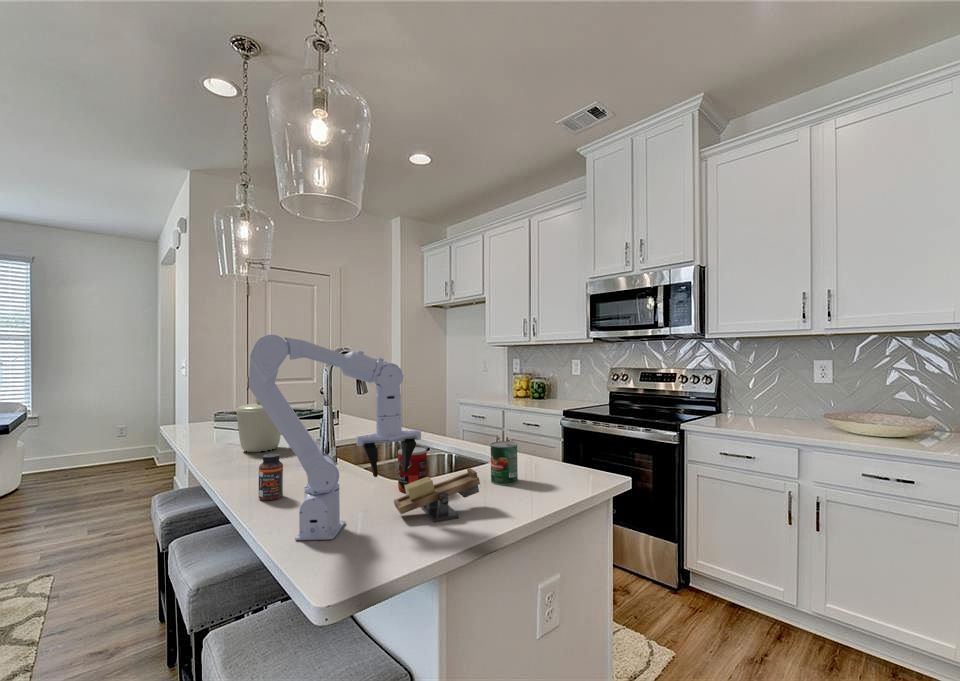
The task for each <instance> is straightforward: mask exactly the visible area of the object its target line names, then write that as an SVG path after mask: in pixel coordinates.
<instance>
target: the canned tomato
mask: <svg viewBox="0 0 960 681" xmlns="http://www.w3.org/2000/svg"><path fill="white" fill-rule="evenodd" d="M518 472H519V471H518V443H517V442H515V441H508V440H505V441H504V440H502V441H494V442H491V443H490V483H492V484H493V485H498V486H511V485H512V486H513V485H515V484H517V483H518V482H519V480H518V478H519V476H518Z"/></svg>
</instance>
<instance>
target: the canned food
mask: <svg viewBox="0 0 960 681" xmlns="http://www.w3.org/2000/svg"><path fill="white" fill-rule="evenodd" d="M427 452H428V451H427V449H426V447H421V446H420V447H418V446H416V447H415V448H414V451H413V453H412V455H411V458H410V462H409V466H408V472H407V473H404V472H403V470H402V448H399V449H398V451H397V488H398V490H399V492H400V493H404V494H406V490H405V486H404V485H406V484H409V483H412V482H414V481H417V480H420V479H423V478H425V477H428V453H427Z"/></svg>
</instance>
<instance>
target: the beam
mask: <svg viewBox="0 0 960 681" xmlns="http://www.w3.org/2000/svg"><path fill="white" fill-rule="evenodd" d="M466 470H467V472H465V473H463V474H460V475H457V476H455V477H451V478H449V479H447V480H444V481H440V482H437V483H435V484H433V485H434V489H435V493H434V494H431V495H428V496H426V497H423V498H420V499H418V500H415V501H412V502H410V501H409V500H408V499H407V495H405V494H404V495H403V496H400V497H397V498H395V499H393V504H394V507H395V508H396V510H397V512H398V513H399V514H400V515H404V514H406V513H408V512H411V511H414V510H416V509H419V508H421V507H422V506H424V505H427V504H430V503H432V502H435V501H437V500H438V495H439V494H446V493H447V494H448V497H450V496H453V495H455V494H459V495H460V496H462V497H463V498H464V499H465V498H468V497H470V496H472V495H475V494H478V493H480V489H479V485H481V480H480V478H479V476H478V472H477V471H475V470H474V469H473V468H471V467H469V468H466Z"/></svg>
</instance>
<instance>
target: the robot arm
mask: <svg viewBox="0 0 960 681" xmlns="http://www.w3.org/2000/svg"><path fill="white" fill-rule="evenodd" d="M364 353H365V352H364V350H363V351H362V350H359V349H358V350H357V351H355V350H352V351H349V352H347V353H345V354H344V353H340V352H339V351H335V350H332V349H329V348H326V347H324V346H321V345H318V344H315V343H312V342H309V341H306V340H302V339H297V338H292V337H286V336H284V338H283V337H281V336H280V335H278V334H273V333H272V334H266V335H262V336H261V337H259V338H258V339H257V340H256V342H255V344H254V346H253V348H252V350H251V352H250V354H249V373H248V374H249V375H248V376H249V377H248V387H249V390H250V391H251V393H252V394H253V396H254V397H255V399H256V398H257V400H258V401H259V403H260V404H261V406H262V407H263V408H264V410H265V411H266V413H267V414H268V416H269V417H270V419H271V420H272V421H273V423H274V424H275V426H276V427H277V429H278V430H279V431H280V433H281V436H282V437H283V439H284V440H285V442H286V443H287V444H288V446H289V448H290V449H291V450H292V452H293V453H294V454H295V456H296V457H297V459H298V461H299V462H300V463H299V464H300V465H301V467H302V468H303V470H304V471H305V473H306V476H307V484H306V485H305V486H304V488H303V489H304V493H303V494H304V498H303V499H304V500H303V502H302V503H301V505H300V507H299V512H298V513H299V514H298V515H299V516H298V517H299V518H298V519H299V521H298V524H299V525H298V526H299V530H298V531H299V532H298V534H297V535H296V536H295V537H294V540H295V541H318V540H321V541H323V540H324V541H325V540H326V541H327V540H334V539H335V538H336V536H337V535H338V534H339V532H340V531H341V529H342V528H343V527H344V525H345V524H346V520H344V519H343V520H342V519H340V517H341V516H340V514H341V512H340V509H341V508H340V505H341V504H340V503H341V502H340V484H339V480H340V472H339V469H338V467H337V466H336V463H335V460H334V459H333V457H332V456H330V455H328V454H327V453H325V452H323V450H322V449H321V448H320V446H319V444H317V442H315V440H314V438H313V437H312V435H311V434H310V432H309V431H308V429H307V428H306V426H305V425H304V424H303V422H302V421H301V419H300V418H299V416H298V415H297V413H296V412H295V411H294V409H293V407H292V406H291V404H290V403H289V401H288V400H287V399H286V397H285V396H284V394H283V393H282V392H281V390H280V388H279V387H278V385H277V383H276V380H277V376H278V373H279V368H280V367H281V365H282V364H283V363H284V361H285V360H286V358H287V357H288V355H289V360H297V359H298V360H299V359H309V360H311V361H316V362H319V363H322V364H327V365H329V366H333V367H336V368H339V369H340V370H341V372H342V374H343V375H344V376H345V377H349V378H352V379H355V380H359V381H362V382H365V383H369V384H373V383H374V384H376V385H375V393H376V394H375V422H376V430H375V431H376V432H375V433H371V434H365V435H364V434H363V435H359V436H356V446H357V447H363V449H364V451H365V453H366V456H367V458H368V460H369V463H370V466H371V472H372V475H373V477H374V478H377V477H379V473H378V463H377V462H378V448H377V445H378V444H387V443H395V442H400V444H401V449H402V470H403V472H404V473H407V472H408V466H409V462H410V458H411V455H412V453H413V451H414V448H415V447H417V441H420V440H422V431H420V430H419V429H417V430H403V424H402V395H401V384H402V383H403V381H404V377H405V376H404V374H403V371H402V369H401V368H400V367H399V366H398V365H397V364H395V363H392V362H388V361H384V360H385V358H382V357H378V358H376V357H373V356H370V355H367V354H364Z"/></svg>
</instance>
